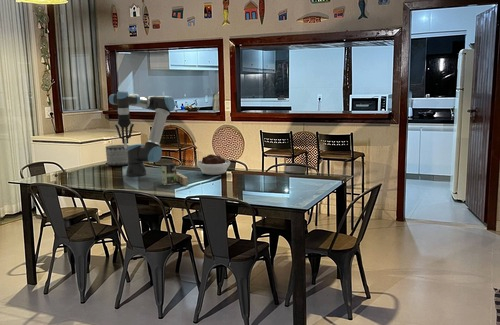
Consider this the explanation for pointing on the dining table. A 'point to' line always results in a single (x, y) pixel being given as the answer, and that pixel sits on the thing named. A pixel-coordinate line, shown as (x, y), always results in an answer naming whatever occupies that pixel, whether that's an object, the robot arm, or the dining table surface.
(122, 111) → the robot arm
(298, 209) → the dining table surface
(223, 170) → the bowl of brown food
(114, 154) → the planter
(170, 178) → the coffee can
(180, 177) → the board
